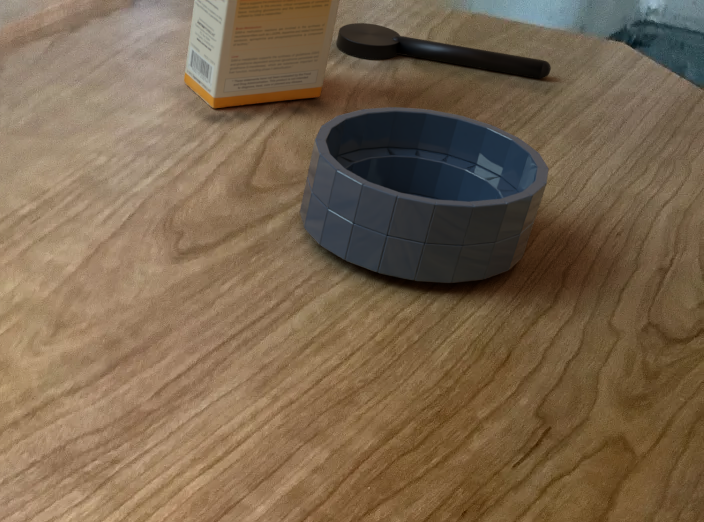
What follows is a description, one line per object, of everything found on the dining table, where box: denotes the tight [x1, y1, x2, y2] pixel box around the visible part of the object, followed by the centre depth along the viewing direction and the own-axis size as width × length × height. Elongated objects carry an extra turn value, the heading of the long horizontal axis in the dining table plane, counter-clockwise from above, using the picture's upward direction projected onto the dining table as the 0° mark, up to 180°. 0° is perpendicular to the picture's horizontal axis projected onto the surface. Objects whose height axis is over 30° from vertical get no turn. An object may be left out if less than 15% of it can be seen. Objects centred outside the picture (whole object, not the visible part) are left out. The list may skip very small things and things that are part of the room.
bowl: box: [299, 106, 550, 284], centre depth 76 cm, size 12×12×5 cm
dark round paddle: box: [335, 22, 552, 79], centre depth 99 cm, size 15×4×1 cm, turn 69°
